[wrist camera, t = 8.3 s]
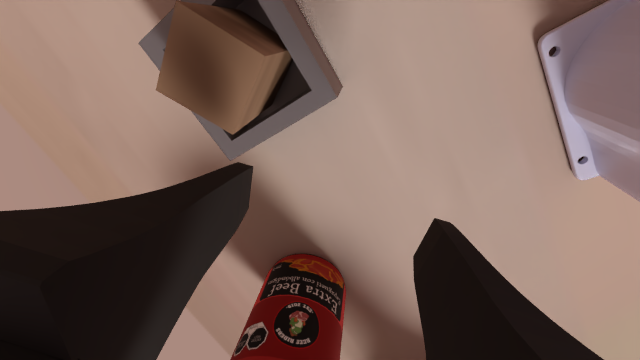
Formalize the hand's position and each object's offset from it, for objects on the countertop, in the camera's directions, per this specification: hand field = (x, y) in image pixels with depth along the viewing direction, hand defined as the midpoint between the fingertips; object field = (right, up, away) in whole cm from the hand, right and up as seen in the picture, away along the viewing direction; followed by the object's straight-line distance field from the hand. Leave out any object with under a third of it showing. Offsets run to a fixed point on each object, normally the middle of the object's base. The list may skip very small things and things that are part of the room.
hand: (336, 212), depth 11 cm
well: (-5, +9, +7) cm, 12 cm away
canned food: (-2, -8, +16) cm, 18 cm away
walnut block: (-5, +9, +7) cm, 12 cm away
